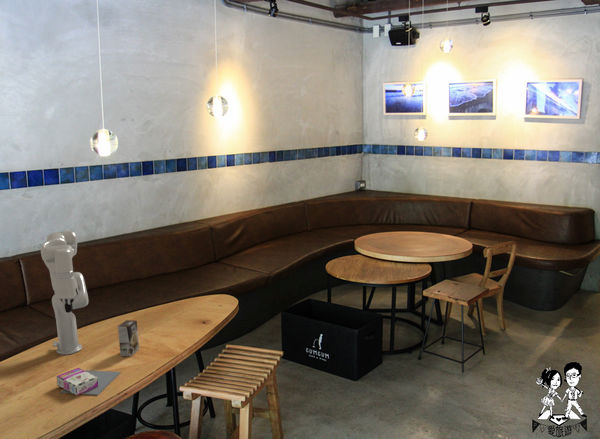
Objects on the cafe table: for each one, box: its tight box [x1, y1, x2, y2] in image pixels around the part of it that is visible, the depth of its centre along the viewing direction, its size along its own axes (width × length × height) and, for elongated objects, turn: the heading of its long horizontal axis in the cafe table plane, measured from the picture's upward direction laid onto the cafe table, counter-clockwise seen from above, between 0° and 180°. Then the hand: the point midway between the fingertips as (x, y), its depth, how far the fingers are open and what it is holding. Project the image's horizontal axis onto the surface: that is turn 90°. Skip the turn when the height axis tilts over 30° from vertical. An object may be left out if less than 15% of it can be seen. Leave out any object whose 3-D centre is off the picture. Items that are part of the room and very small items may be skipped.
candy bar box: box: [56, 367, 98, 396], centre depth 268 cm, size 11×5×16 cm
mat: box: [59, 369, 121, 396], centre depth 273 cm, size 18×22×1 cm
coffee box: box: [117, 319, 140, 357], centre depth 304 cm, size 9×6×16 cm
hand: (69, 311), depth 284 cm, fingers closed
